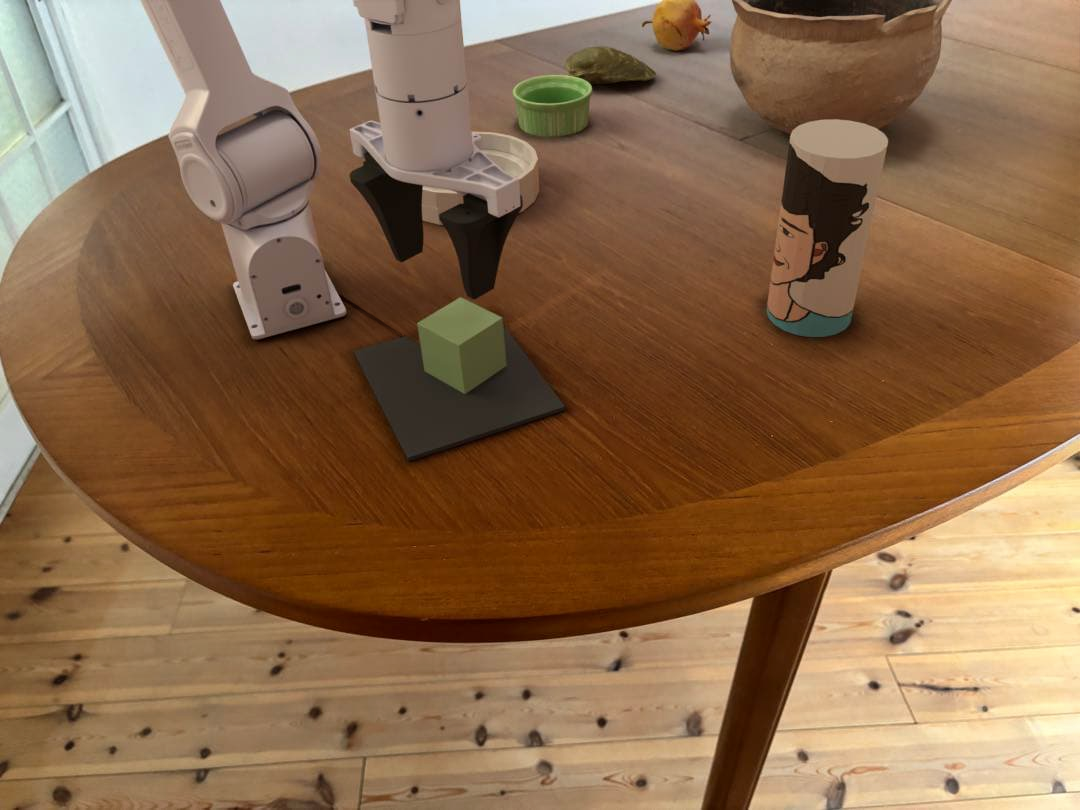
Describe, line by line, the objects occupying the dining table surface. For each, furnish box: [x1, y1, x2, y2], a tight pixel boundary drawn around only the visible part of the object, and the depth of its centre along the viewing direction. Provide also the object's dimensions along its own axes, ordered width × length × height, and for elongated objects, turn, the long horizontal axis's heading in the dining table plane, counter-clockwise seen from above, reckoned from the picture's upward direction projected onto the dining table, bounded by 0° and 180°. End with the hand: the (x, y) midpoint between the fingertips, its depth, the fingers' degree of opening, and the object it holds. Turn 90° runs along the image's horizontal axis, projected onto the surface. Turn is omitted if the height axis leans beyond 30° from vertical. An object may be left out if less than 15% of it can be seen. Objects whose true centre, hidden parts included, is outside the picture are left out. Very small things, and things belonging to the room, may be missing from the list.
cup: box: [766, 119, 889, 338], centre depth 70 cm, size 7×7×15 cm
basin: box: [422, 131, 540, 226], centre depth 92 cm, size 14×14×4 cm
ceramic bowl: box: [729, 0, 953, 136], centre depth 98 cm, size 22×22×15 cm
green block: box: [416, 296, 507, 394], centre depth 69 cm, size 4×4×4 cm
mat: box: [353, 325, 566, 462], centre depth 70 cm, size 14×12×1 cm
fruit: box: [641, 0, 712, 52], centre depth 123 cm, size 7×7×10 cm
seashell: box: [564, 45, 657, 85], centre depth 115 cm, size 10×7×10 cm
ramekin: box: [512, 74, 593, 138], centre depth 105 cm, size 9×9×4 cm
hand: (444, 273), depth 66 cm, fingers open, 7 cm apart
